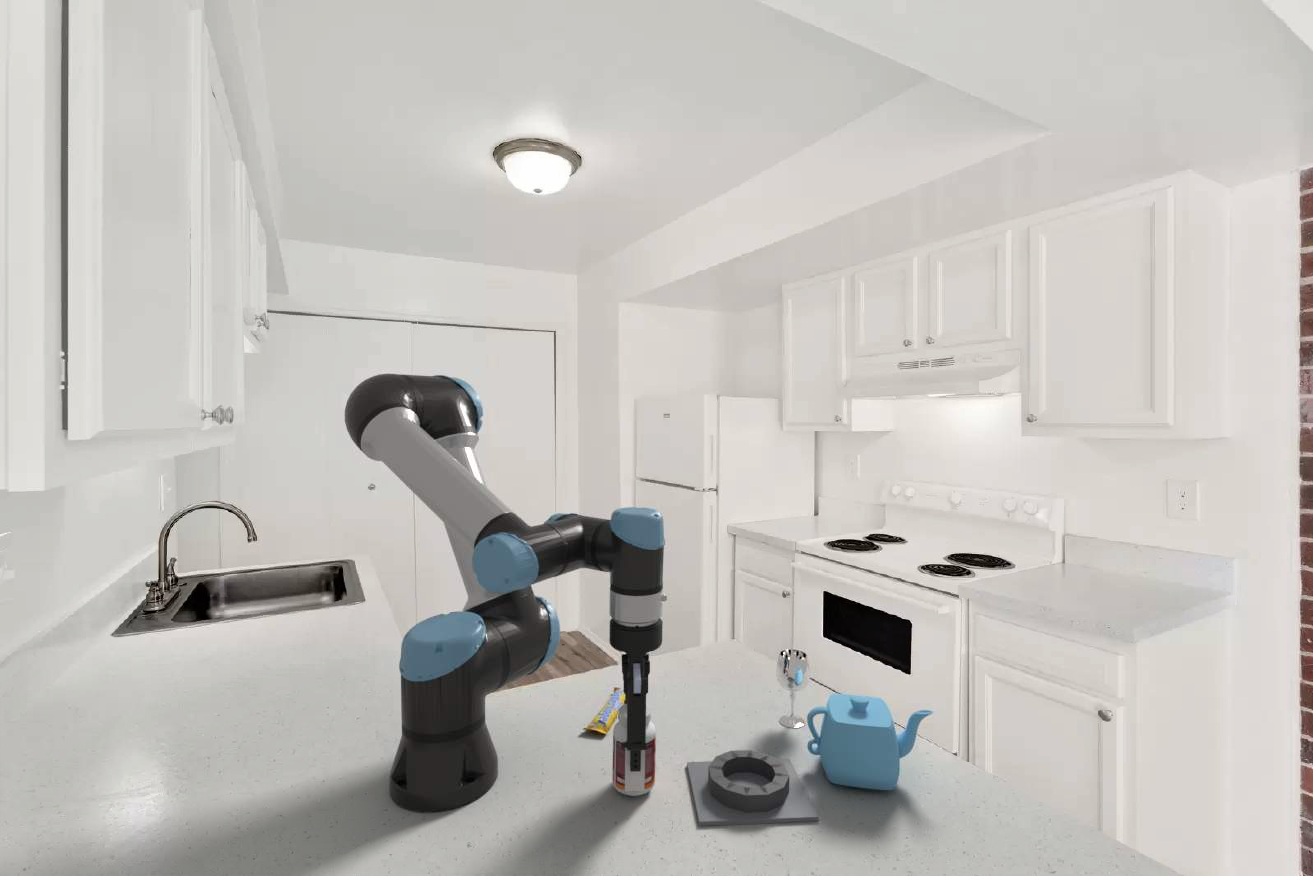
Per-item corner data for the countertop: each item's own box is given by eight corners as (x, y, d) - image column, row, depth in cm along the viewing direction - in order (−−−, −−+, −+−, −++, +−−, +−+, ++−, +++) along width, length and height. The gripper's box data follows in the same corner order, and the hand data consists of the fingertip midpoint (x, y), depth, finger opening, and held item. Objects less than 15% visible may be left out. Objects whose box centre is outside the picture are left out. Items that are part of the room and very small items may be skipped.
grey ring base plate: (699, 826, 84) (699, 804, 84) (687, 765, 98) (687, 747, 98) (818, 821, 85) (818, 799, 85) (789, 762, 99) (789, 743, 99)
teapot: (940, 806, 88) (942, 726, 88) (807, 789, 92) (808, 712, 91) (922, 758, 100) (924, 687, 100) (805, 745, 104) (806, 676, 104)
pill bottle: (663, 788, 91) (665, 714, 90) (626, 803, 88) (627, 725, 87) (640, 767, 96) (641, 696, 96) (604, 780, 93) (605, 706, 92)
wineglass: (812, 717, 113) (813, 651, 112) (805, 733, 108) (806, 663, 107) (779, 711, 116) (780, 646, 115) (771, 725, 110) (772, 657, 110)
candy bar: (614, 693, 123) (614, 684, 123) (635, 696, 122) (635, 687, 122) (581, 737, 107) (581, 726, 107) (605, 741, 106) (605, 730, 106)
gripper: (668, 643, 81) (665, 817, 83) (657, 596, 100) (655, 739, 102) (609, 644, 81) (607, 819, 82) (610, 597, 100) (608, 740, 101)
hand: (633, 774), depth 92 cm, fingers closed on pill bottle, 6 cm apart
